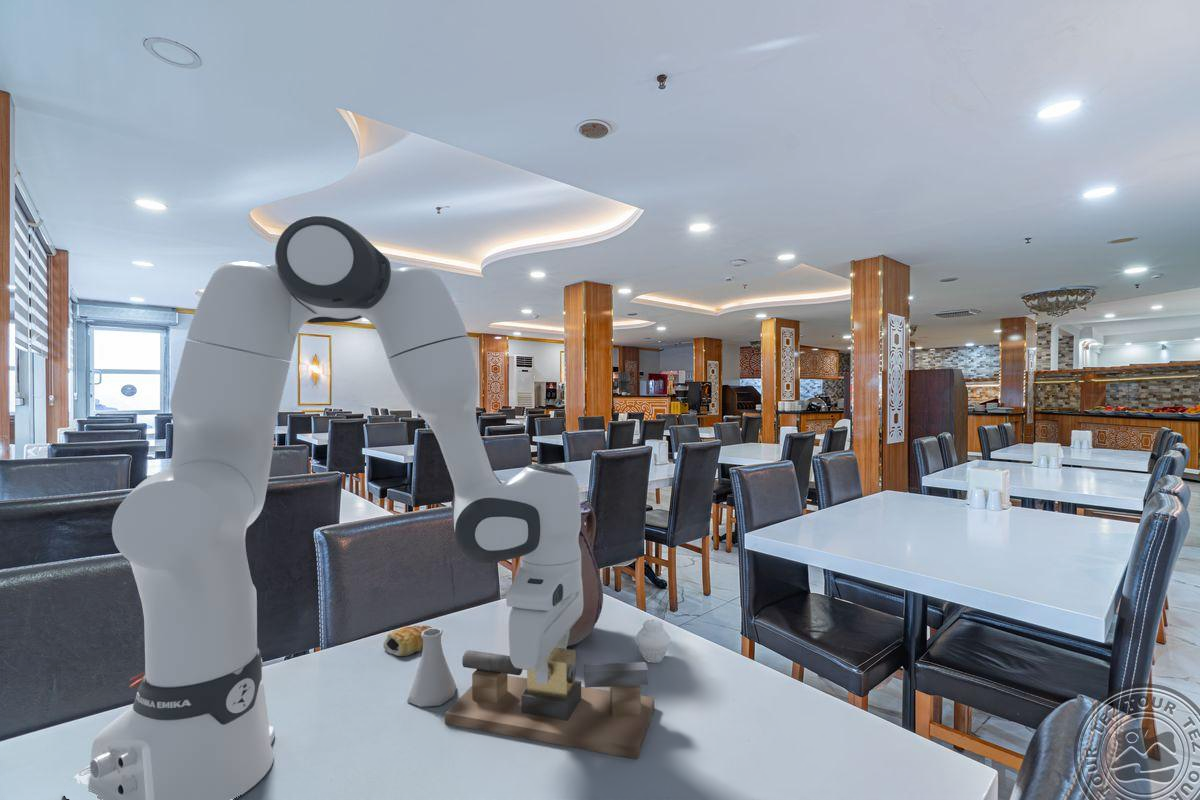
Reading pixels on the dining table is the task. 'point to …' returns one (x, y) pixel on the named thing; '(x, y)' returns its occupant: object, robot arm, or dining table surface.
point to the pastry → (405, 640)
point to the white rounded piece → (653, 640)
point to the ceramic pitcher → (586, 578)
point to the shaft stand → (558, 706)
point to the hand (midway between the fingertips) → (551, 670)
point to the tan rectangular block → (556, 675)
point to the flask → (432, 673)
